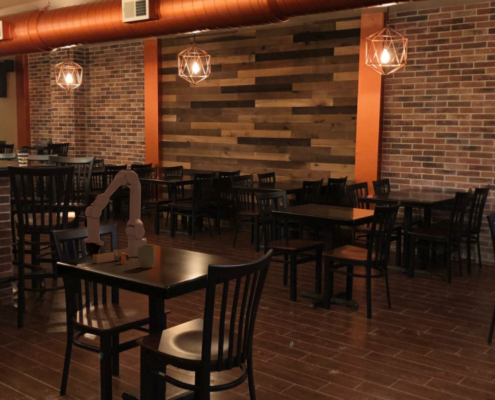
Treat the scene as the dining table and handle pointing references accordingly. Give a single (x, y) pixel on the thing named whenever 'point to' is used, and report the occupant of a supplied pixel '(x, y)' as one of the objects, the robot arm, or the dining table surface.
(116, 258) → the pivot post
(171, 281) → the dining table surface
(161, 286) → the dining table surface
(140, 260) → the cup
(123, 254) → the latch stile
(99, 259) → the gate rail
